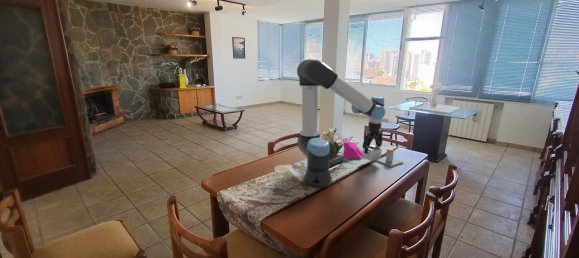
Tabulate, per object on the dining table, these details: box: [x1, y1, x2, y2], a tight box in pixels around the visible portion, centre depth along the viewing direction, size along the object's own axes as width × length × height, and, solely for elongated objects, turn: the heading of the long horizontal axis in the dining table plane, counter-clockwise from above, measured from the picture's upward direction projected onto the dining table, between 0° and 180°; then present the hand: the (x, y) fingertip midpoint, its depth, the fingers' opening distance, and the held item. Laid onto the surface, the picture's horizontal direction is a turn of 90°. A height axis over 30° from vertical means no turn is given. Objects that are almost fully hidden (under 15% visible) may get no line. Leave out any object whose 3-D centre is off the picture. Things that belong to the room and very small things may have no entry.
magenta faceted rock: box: [342, 140, 363, 160], centre depth 183 cm, size 12×10×10 cm
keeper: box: [374, 147, 404, 168], centre depth 172 cm, size 12×12×9 cm
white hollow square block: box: [361, 144, 383, 162], centre depth 168 cm, size 8×8×7 cm
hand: (371, 156), depth 169 cm, fingers closed on white hollow square block, 8 cm apart
